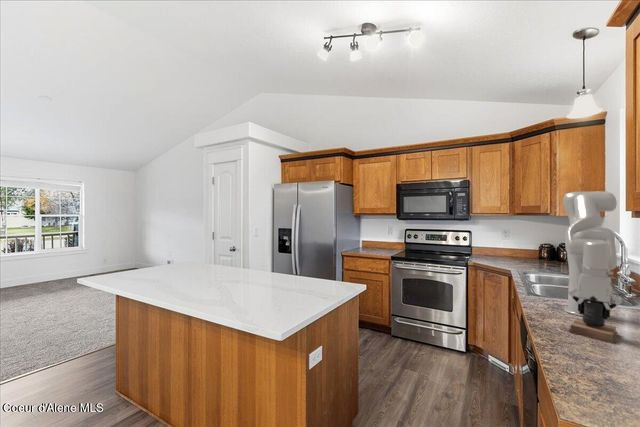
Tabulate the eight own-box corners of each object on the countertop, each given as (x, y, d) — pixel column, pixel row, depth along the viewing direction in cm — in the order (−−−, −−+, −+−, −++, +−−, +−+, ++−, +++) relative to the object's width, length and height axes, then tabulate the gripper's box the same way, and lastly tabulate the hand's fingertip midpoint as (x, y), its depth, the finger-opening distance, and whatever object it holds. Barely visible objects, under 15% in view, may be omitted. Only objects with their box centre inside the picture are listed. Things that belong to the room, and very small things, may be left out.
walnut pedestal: (575, 324, 131) (575, 317, 130) (617, 334, 121) (617, 327, 121) (568, 332, 122) (569, 324, 122) (613, 343, 112) (613, 335, 112)
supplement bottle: (609, 327, 117) (610, 297, 117) (589, 326, 119) (590, 296, 118) (597, 321, 124) (598, 292, 124) (578, 319, 125) (579, 291, 125)
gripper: (626, 274, 117) (624, 320, 117) (569, 267, 130) (568, 308, 130) (624, 277, 112) (622, 325, 112) (565, 269, 125) (564, 312, 126)
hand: (593, 315), depth 121 cm, fingers closed on supplement bottle, 6 cm apart
